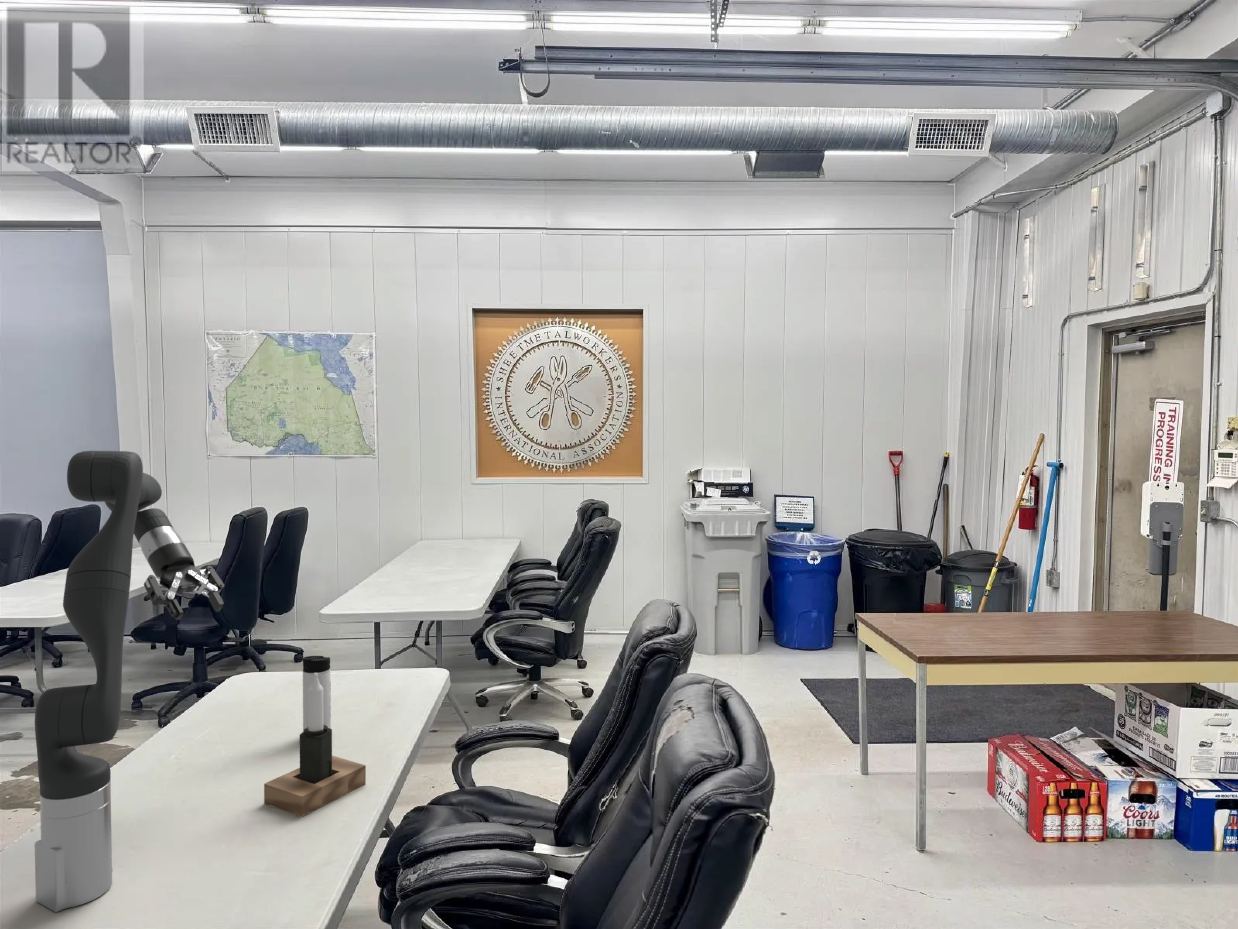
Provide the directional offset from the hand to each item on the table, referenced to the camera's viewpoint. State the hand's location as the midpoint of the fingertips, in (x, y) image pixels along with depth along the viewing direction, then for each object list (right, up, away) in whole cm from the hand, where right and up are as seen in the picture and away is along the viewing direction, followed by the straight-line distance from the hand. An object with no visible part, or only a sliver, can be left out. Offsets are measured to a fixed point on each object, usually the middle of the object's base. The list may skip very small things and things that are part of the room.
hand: (200, 613), depth 158 cm
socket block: (+24, -37, 0) cm, 44 cm away
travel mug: (+13, -36, +29) cm, 48 cm away
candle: (+24, -37, 0) cm, 44 cm away
